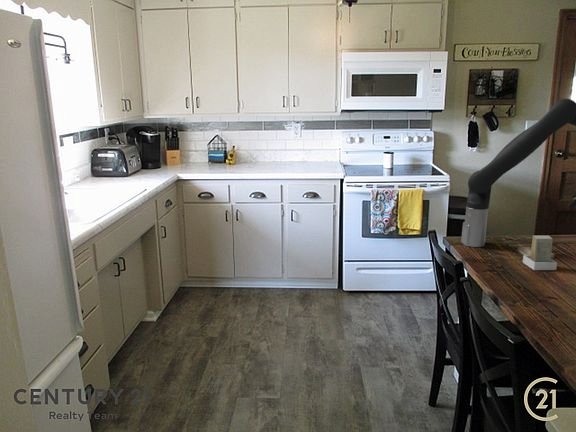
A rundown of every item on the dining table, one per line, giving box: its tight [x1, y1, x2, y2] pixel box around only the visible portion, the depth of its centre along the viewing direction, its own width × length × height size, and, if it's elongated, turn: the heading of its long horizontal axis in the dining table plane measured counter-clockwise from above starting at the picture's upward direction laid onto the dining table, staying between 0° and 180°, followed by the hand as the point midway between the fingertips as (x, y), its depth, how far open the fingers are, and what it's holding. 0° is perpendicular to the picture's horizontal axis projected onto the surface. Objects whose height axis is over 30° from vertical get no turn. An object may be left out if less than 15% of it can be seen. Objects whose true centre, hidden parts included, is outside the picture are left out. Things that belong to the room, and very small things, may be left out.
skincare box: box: [530, 234, 554, 263], centre depth 192 cm, size 6×4×12 cm
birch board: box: [517, 246, 555, 259], centre depth 207 cm, size 11×9×2 cm
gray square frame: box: [522, 254, 558, 271], centre depth 193 cm, size 9×9×3 cm
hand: (575, 211), depth 189 cm, fingers open, 8 cm apart
